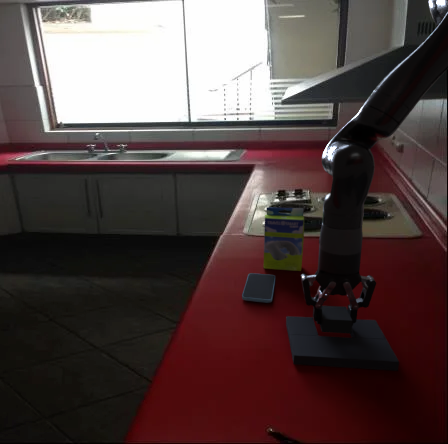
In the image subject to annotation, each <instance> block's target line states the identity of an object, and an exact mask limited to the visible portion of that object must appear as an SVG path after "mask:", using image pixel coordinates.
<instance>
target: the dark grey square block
mask: <svg viewBox="0 0 448 444" xmlns="http://www.w3.org/2000/svg"><path fill="white" fill-rule="evenodd" d="M319 328H320V331H321V333H330V334H346V335H347V334H348V335H350V334H351V331H352V319H351V316H350V315H349V313H348V307H347V306H342V305H340V306H339V305H322V315H321V324H319Z"/></svg>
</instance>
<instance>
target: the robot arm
mask: <svg viewBox="0 0 448 444" xmlns="http://www.w3.org/2000/svg"><path fill="white" fill-rule="evenodd" d="M428 8H429V12H430V15H431V17H432V20H433V22H434V23H435V26H436V28H435V29H434V30H433V31H432V32H431V34H430V35H429V36H428V37H427V38H426V39H425V40H424V41H422V43H421V44H420V45H419V46H418V47H417V48H415V50H413V51H412V52H411V53H410V54H408V56H407V57H405V58H404V59H403V60H402V61H401V62H400V63H398V64H397V65H396V66H394V68H392V69H391V71H390V72H389V73H388V74H387V75H385V76H384V78H383V79H382V80H381V81H380V83H378V85H377V86H376V87H375V89H374V90H373V91H372V93H371V94H370V95H369V96H368V98H367V100H366V101H365V102H364V103H363V105H362V106H361V108H360V109H359V111H358V112H357V114H356V115H354V116H353V118H351V120H349V121H348V122H347V123H346V124H345V125H344V126H343V127H342V128H341V129H340V130H339V131H338V132H337V133H336V134H335V135H334V136H333V137H332V139H331V140H330V141H329V142H328V144H327V145H326V147H325V149H324V151H322V156H321V165H322V168H323V170H324V171H325V173H327V174H328V175H329V176H331V177H332V180H331V181H332V182H331V189H330V192H329V193H327V194H326V195H325V197H324V199H323V204H322V216H321V217H322V220H321V227H320V232H319V238H318V258H317V269H316V272H315V273H314V274H310V275H307V274H306V273H302V274H300V281H301V286H302V292H303V297H304V302H305V304H306V306H309V307H310V306H311V307H312V317H313V319H314V322H316V324H317V325H320V324H321V315H322V306H324V304H325V302H326V301H327V300H328V299H329V297H330V296H337V295H338V296H341V297H343V296H344V297H345V296H346V297H347V299H348V302H349V304H348V305H347V310H348V313H349V315H350V316H351V319H352V326H353V323H356V321H357V319H358V312H359V311H358V310H359V309H361V308H365V309H366V308H367V309H368V308H369V306H370V305H371V301H372V298H373V294H374V292H375V289H376V286H377V281H376V280H375V278H374V276H372V275H371V274H369V275H366V276H364V275H361V273H360V269H361V259H362V249H363V240H364V239H363V235H364V232H363V222H364V214H365V213H364V212H365V211H364V210H365V202H366V200H367V197H368V195H369V191H370V188H371V186H372V182H373V179H374V175H375V167H376V166H375V164H376V163H375V157H374V154H373V152H372V151H371V149H372V148H373V147H374V146H375V145H376V144H377V143H378V142H379V141H382V140H386V139H388V138H390V137H392V136H393V135H394V134H395V133H396V131H397V130H398V129H399V128H400V126H401V125H402V124H403V122H404V121H405V120H406V119H407V117H408V116H409V115H410V113H411V112H412V111H413V110H414V109H415V107H416V106H417V105H418V104H419V102H420V101H421V100H422V98H423V97H424V96H425V94H426V93H427V92H428V91H429V90H430V89H431V88H432V86H434V84H435V83H436V82H437V81H438V80H439V79H440V78H441V77H442V76H443V75H444V73H446V71H447V70H448V0H428ZM314 282H316V283H317V284H318V285H319V286H318V288H317V292H316V294H315V296H312V291H311V287H313V286H314ZM359 284H361V286H362V288H361V292H360V295H359V297H358V298H356V296H355V293H354V289H355V288H356V287H358V285H359Z"/></svg>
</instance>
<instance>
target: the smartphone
mask: <svg viewBox="0 0 448 444" xmlns="http://www.w3.org/2000/svg"><path fill="white" fill-rule="evenodd" d="M275 285H276V275H274V274H269V273H268V274H265V273H253V272H251V273H248V274H247V278H246V281H245V285H244V288H243V291H242V294H241V299H242V300H243V301H247V302H254V303H255V302H257V303H266V304H269V303H272V302H273V298H274V292H275Z"/></svg>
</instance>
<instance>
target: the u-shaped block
mask: <svg viewBox="0 0 448 444" xmlns="http://www.w3.org/2000/svg"><path fill="white" fill-rule="evenodd" d="M285 326H286V327H285V328H286V331H287V332H286V333H287V337H288V343H289V348H290V352H291V358H292V363H293V365H299V366H313V367H316V366H317V367H330V368H331V367H332V368H347V369H360V370H361V369H363V370H376V371H393V372H394V371H395V372H398V371H399V366H400V360H399V359H398V356H397V355H396V353H395V352H394V350H393V348H392V346H391V345H390V343H389V341H388V339H387V338H386V335H385V334H384V332H383V330H382V329H381V327H380V325H379V324H378V322H377V320H376V319H358V318H357V321H356V323H353V326H352V331H351V334H349V335H350V336H349V337H348V336H331V335H330V336H327V335H319V333H318V330H317V327H316V323H315V321H314V318H313V316H293V315H292V316H289V315H286V317H285Z"/></svg>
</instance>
